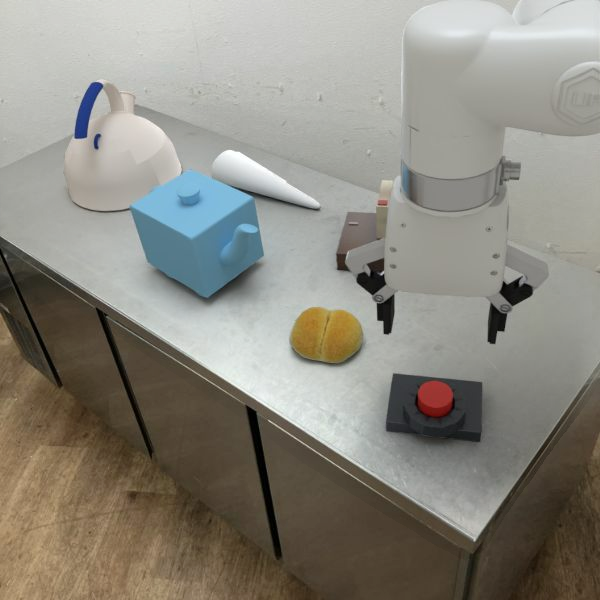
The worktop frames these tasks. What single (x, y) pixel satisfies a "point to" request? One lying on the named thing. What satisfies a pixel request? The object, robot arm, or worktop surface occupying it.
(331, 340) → the bread roll
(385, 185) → the handle
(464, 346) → the worktop surface
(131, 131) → the kettle
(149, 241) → the teapot
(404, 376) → the button block
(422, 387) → the button
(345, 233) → the panel
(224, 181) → the long cone
